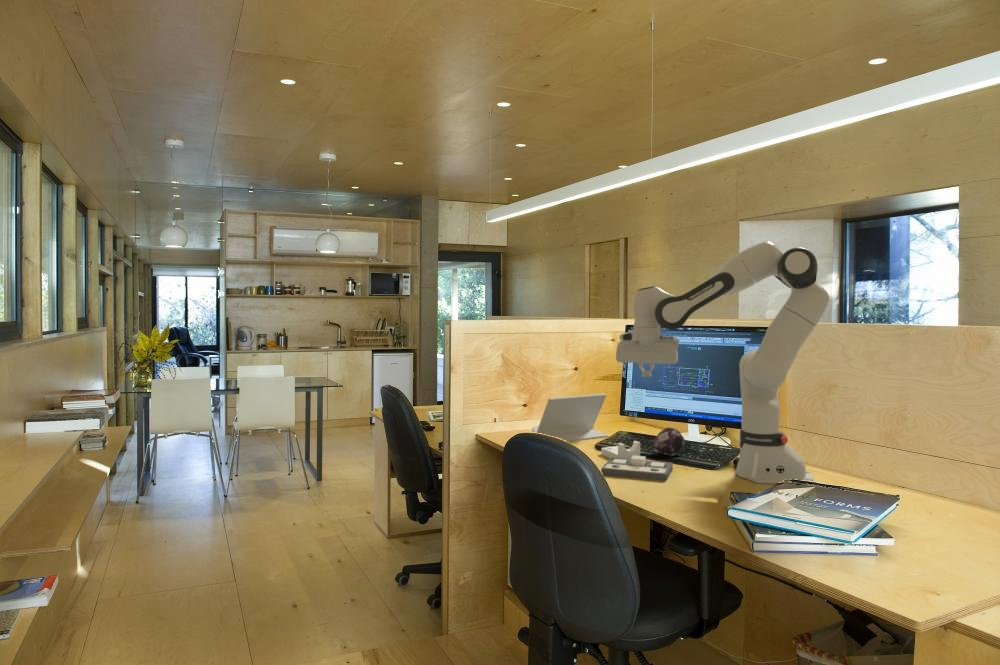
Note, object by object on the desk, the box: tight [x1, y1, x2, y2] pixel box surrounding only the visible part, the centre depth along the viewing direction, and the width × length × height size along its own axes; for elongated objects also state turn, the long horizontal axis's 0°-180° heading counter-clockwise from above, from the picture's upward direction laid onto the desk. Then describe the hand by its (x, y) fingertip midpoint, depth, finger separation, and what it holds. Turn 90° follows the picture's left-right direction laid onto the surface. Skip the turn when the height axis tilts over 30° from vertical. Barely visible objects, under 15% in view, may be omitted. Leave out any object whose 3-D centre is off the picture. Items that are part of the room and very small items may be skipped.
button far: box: [612, 459, 627, 465], centre depth 227 cm, size 4×4×2 cm
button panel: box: [600, 457, 674, 482], centre depth 223 cm, size 20×14×3 cm
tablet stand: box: [531, 392, 609, 443], centre depth 278 cm, size 18×25×17 cm
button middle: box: [631, 455, 647, 467], centre depth 225 cm, size 4×4×2 cm
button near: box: [650, 462, 665, 469], centre depth 223 cm, size 4×4×2 cm
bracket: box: [600, 440, 641, 459], centre depth 240 cm, size 13×7×8 cm, turn 24°
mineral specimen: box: [653, 427, 686, 454], centre depth 247 cm, size 10×10×10 cm
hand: (646, 376), depth 236 cm, fingers closed
